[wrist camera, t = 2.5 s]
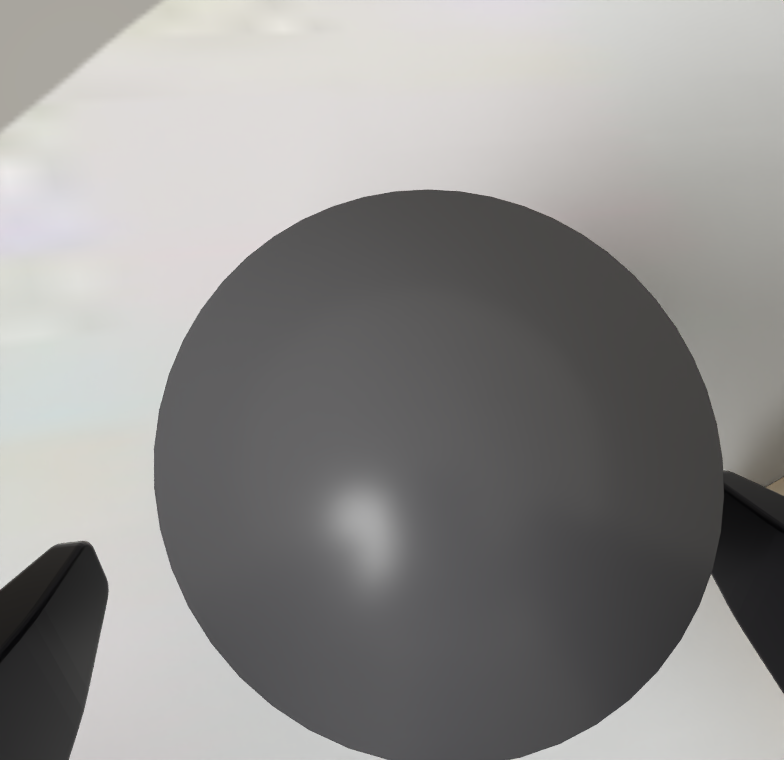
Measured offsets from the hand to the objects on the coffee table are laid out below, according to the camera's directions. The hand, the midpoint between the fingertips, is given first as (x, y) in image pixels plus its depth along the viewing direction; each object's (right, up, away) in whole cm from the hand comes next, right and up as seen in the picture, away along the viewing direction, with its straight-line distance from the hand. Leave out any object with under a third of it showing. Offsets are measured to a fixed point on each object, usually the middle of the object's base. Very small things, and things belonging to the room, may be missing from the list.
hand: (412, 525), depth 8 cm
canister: (-1, -2, +8) cm, 8 cm away
